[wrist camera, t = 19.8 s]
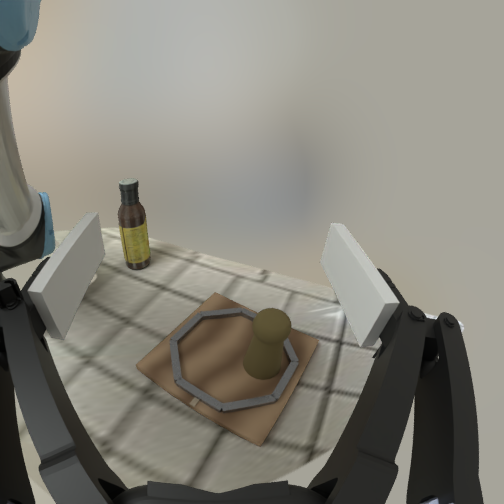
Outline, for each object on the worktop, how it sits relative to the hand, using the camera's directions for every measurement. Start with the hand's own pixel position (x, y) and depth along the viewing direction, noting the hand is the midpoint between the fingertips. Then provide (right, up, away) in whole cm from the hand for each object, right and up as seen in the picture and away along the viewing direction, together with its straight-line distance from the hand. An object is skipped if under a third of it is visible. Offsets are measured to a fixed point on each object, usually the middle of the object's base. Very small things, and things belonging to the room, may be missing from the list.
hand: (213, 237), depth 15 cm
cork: (+4, -19, +26) cm, 32 cm away
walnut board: (-1, -18, +27) cm, 33 cm away
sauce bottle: (-25, -3, +45) cm, 52 cm away
